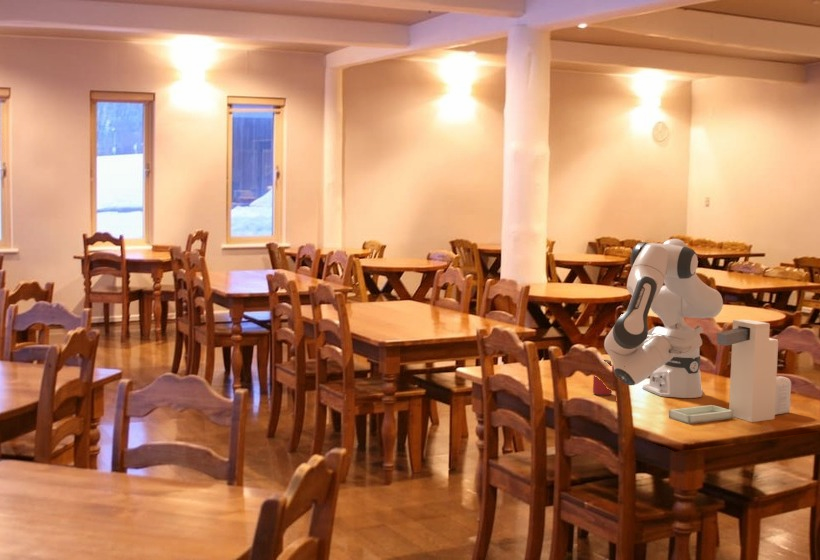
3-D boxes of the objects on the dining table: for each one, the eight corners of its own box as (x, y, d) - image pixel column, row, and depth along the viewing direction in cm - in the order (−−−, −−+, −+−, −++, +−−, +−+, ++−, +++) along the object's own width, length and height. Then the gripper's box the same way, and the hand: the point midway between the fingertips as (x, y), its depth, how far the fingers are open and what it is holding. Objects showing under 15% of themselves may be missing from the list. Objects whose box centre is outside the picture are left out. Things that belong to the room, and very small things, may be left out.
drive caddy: (717, 343, 334) (716, 333, 334) (748, 335, 340) (747, 325, 339) (726, 345, 331) (725, 335, 330) (757, 337, 336) (756, 327, 336)
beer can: (603, 396, 370) (604, 363, 369) (589, 393, 375) (590, 360, 374) (615, 394, 374) (616, 361, 373) (601, 391, 379) (602, 358, 378)
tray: (668, 417, 340) (669, 410, 339) (712, 412, 348) (712, 404, 347) (688, 423, 331) (689, 416, 331) (732, 418, 339) (733, 410, 339)
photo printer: (780, 410, 352) (782, 374, 351) (791, 412, 349) (793, 376, 347) (760, 413, 346) (762, 377, 345) (771, 416, 343) (773, 379, 342)
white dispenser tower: (728, 415, 343) (732, 320, 340) (751, 412, 348) (756, 318, 345) (751, 422, 335) (755, 324, 331) (774, 419, 339) (779, 322, 336)
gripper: (679, 346, 313) (710, 321, 318) (634, 336, 331) (665, 313, 336) (686, 363, 315) (717, 339, 320) (641, 353, 333) (672, 330, 338)
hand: (690, 326), depth 328 cm, fingers open, 8 cm apart
